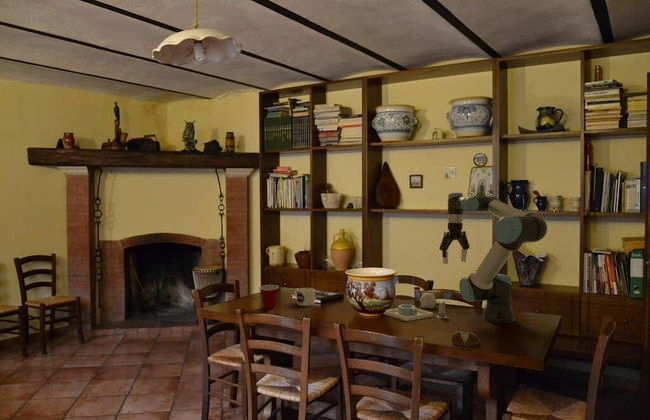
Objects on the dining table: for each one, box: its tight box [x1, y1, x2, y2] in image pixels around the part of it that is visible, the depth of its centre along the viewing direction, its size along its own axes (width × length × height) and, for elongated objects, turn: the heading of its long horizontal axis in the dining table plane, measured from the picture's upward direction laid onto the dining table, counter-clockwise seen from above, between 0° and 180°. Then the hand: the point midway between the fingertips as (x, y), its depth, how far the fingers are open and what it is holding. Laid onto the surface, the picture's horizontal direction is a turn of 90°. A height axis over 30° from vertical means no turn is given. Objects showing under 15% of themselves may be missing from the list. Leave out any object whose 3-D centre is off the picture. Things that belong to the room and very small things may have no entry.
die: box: [419, 292, 438, 309], centre depth 282 cm, size 8×9×10 cm
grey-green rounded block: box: [397, 303, 418, 316], centre depth 264 cm, size 11×8×4 cm
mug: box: [293, 287, 316, 307], centre depth 292 cm, size 13×10×8 cm
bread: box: [451, 329, 480, 347], centre depth 218 cm, size 11×11×5 cm
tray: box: [383, 307, 434, 322], centre depth 265 cm, size 18×18×2 cm
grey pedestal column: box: [435, 300, 448, 319], centre depth 261 cm, size 6×6×8 cm
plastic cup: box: [258, 284, 280, 310], centre depth 280 cm, size 11×11×12 cm
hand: (454, 262), depth 269 cm, fingers open, 13 cm apart
